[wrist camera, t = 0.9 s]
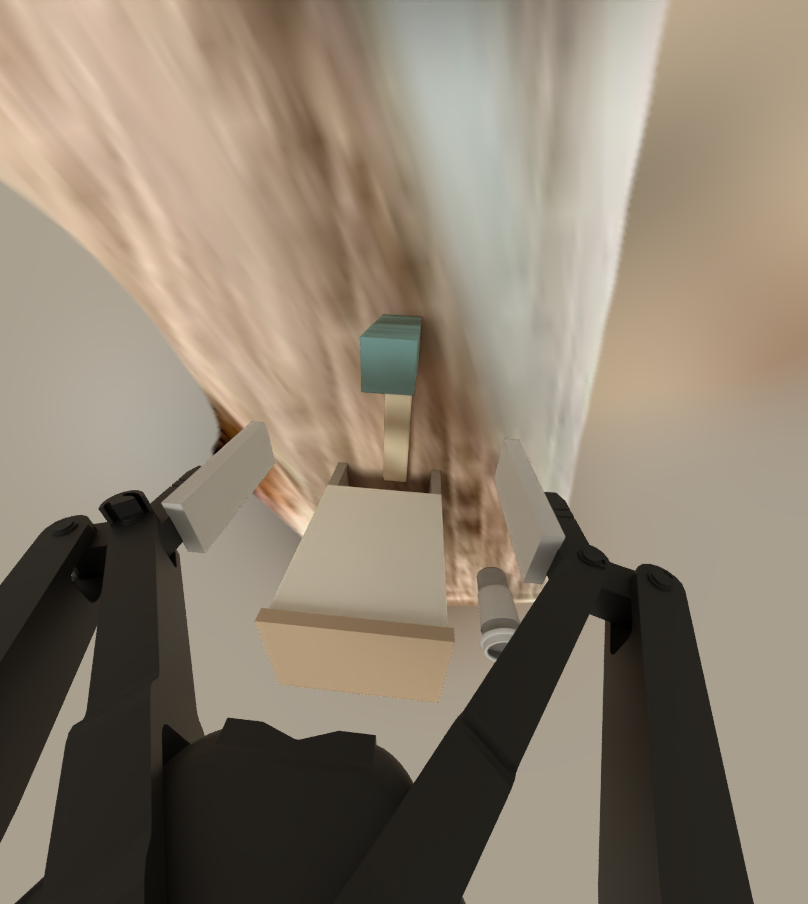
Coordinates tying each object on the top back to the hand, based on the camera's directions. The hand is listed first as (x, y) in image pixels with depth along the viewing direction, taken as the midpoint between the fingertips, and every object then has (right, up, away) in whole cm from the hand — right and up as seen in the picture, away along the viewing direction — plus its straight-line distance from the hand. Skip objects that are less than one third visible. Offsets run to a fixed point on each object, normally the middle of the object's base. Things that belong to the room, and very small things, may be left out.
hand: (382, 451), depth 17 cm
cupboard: (-1, -6, +27) cm, 27 cm away
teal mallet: (+1, +6, +19) cm, 20 cm away
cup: (+16, -21, +35) cm, 44 cm away
